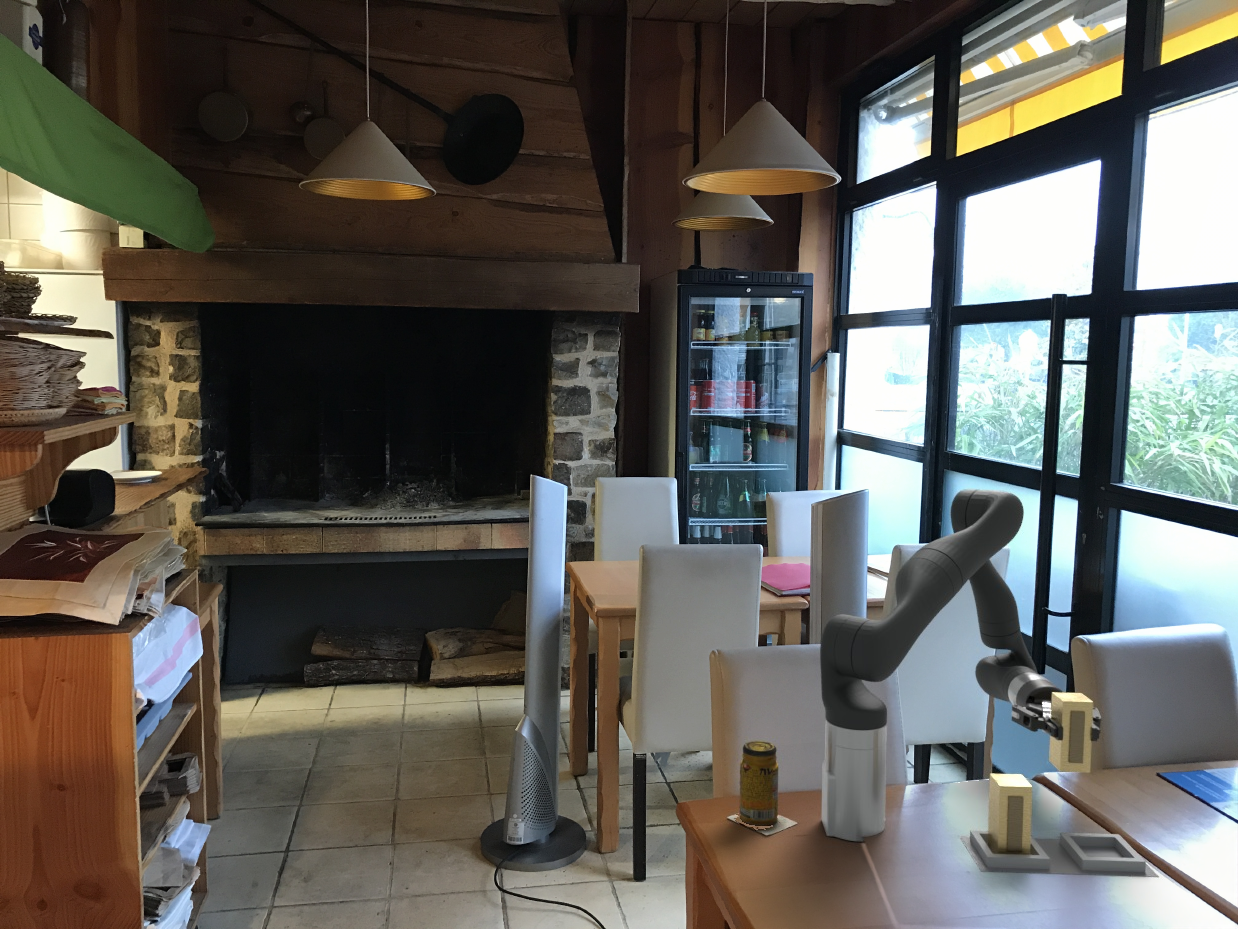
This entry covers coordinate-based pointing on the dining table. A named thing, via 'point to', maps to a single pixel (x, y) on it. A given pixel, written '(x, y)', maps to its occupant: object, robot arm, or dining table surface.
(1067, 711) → the block
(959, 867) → the dining table surface
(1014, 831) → the block
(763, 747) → the condiment
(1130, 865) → the grey double socket tray
